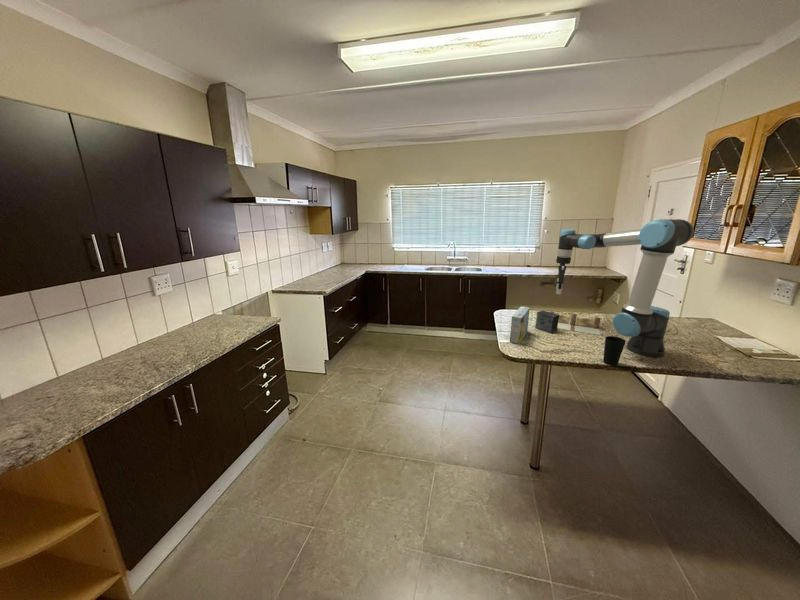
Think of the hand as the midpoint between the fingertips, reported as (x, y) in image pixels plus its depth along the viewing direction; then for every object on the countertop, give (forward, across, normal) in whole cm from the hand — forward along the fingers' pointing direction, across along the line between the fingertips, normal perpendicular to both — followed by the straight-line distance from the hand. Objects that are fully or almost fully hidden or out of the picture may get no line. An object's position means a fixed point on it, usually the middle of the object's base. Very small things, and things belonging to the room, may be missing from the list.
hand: (558, 291), depth 186 cm
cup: (+21, +46, +24) cm, 56 cm away
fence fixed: (+21, -2, +17) cm, 27 cm away
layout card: (+21, 0, +11) cm, 23 cm away
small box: (+21, +13, -4) cm, 25 cm away
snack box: (+21, +32, -18) cm, 42 cm away
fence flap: (+20, -3, +3) cm, 21 cm away
